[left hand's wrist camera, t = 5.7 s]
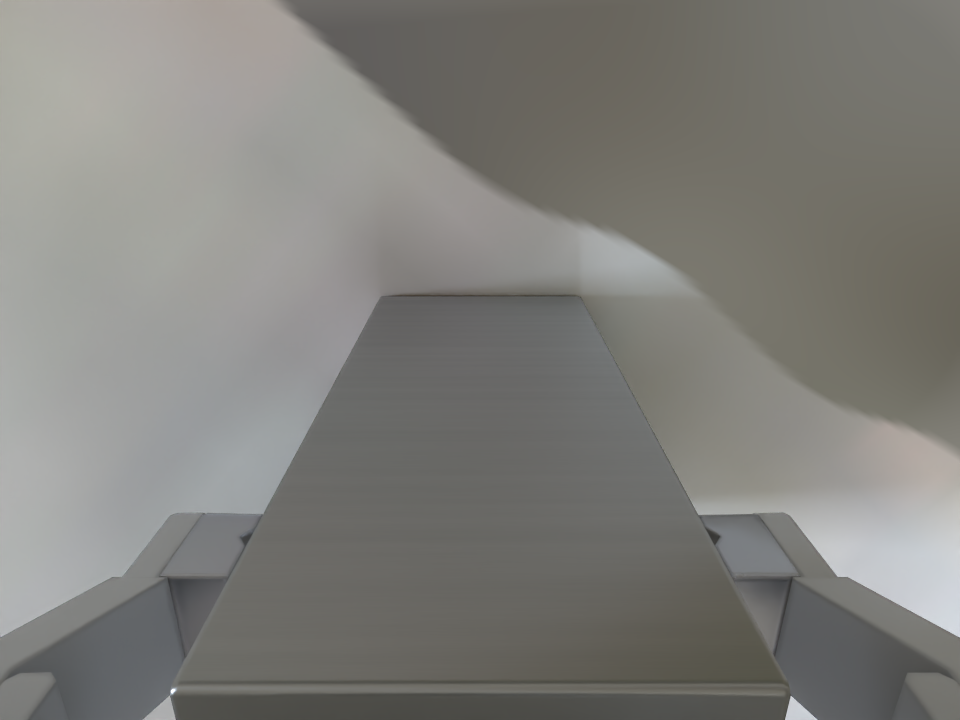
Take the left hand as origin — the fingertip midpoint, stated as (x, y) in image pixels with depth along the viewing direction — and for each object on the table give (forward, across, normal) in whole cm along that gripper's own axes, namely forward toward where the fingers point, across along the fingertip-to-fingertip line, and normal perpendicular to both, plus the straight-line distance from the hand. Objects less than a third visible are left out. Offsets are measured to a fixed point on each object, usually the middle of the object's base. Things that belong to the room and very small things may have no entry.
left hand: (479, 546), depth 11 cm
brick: (+5, 0, 0) cm, 5 cm away
